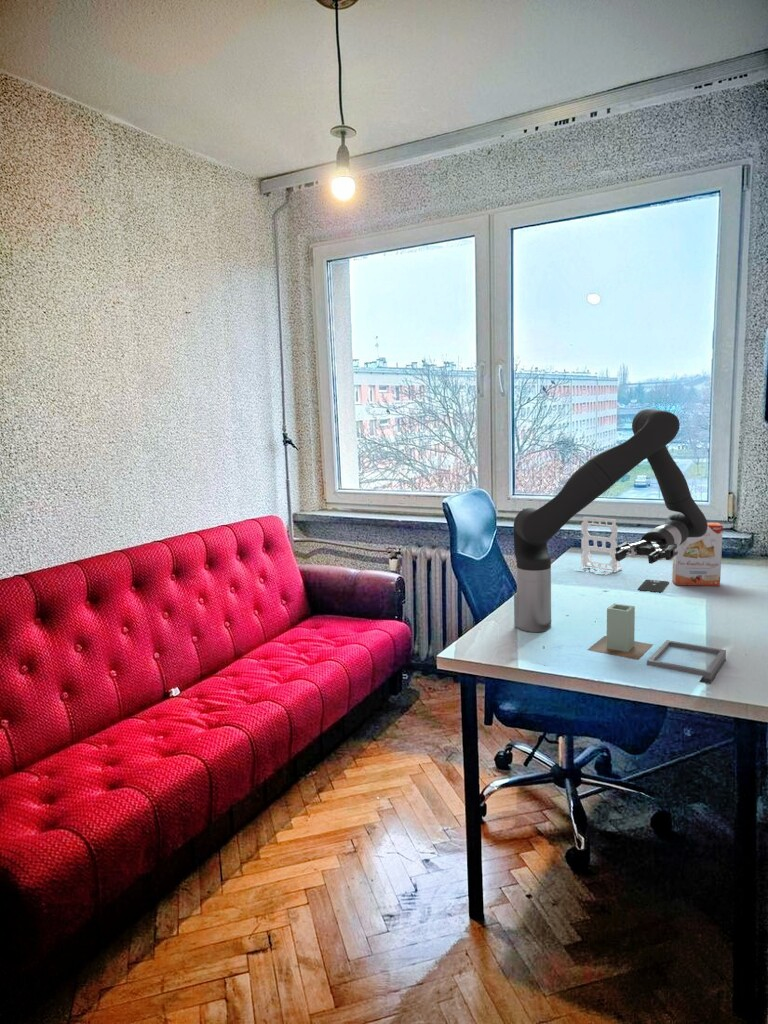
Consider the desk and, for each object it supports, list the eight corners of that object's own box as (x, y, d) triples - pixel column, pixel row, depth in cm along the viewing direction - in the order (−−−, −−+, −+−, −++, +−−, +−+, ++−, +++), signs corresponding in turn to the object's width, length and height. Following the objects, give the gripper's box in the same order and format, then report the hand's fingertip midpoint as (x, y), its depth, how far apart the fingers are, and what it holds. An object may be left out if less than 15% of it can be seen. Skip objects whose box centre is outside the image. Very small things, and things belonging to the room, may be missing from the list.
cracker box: (675, 585, 210) (676, 524, 207) (671, 581, 216) (673, 521, 213) (721, 586, 207) (723, 524, 204) (716, 582, 212) (718, 521, 210)
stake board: (587, 655, 151) (587, 613, 150) (604, 641, 160) (604, 601, 159) (638, 666, 144) (638, 622, 142) (653, 650, 153) (654, 608, 152)
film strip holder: (571, 570, 237) (571, 519, 234) (590, 564, 246) (590, 514, 243) (606, 576, 226) (606, 522, 224) (624, 569, 235) (625, 517, 233)
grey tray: (646, 671, 141) (647, 660, 140) (666, 649, 153) (666, 640, 153) (710, 684, 132) (710, 672, 132) (725, 660, 145) (726, 650, 144)
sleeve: (606, 648, 152) (606, 608, 150) (613, 642, 155) (614, 603, 154) (627, 652, 148) (628, 611, 147) (634, 646, 152) (634, 606, 151)
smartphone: (669, 583, 215) (669, 581, 215) (661, 594, 202) (661, 591, 202) (645, 581, 219) (645, 579, 219) (636, 591, 206) (636, 589, 206)
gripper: (634, 526, 172) (605, 542, 161) (687, 528, 161) (659, 545, 151) (637, 552, 173) (608, 570, 163) (689, 556, 162) (662, 575, 152)
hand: (633, 558), depth 157 cm, fingers open, 8 cm apart
